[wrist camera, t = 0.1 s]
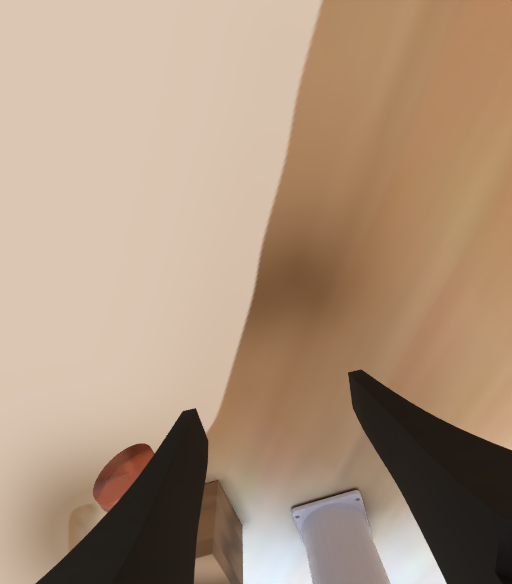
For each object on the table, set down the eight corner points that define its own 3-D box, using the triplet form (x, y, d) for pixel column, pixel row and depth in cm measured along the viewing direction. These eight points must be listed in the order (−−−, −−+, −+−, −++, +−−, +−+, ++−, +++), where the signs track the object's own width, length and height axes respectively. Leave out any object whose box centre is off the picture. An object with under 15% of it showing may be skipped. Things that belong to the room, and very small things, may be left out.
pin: (207, 519, 27) (201, 581, 23) (165, 531, 27) (151, 595, 23) (159, 437, 23) (139, 492, 19) (110, 452, 24) (80, 510, 19)
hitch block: (242, 526, 29) (243, 603, 23) (161, 549, 30) (142, 631, 24) (218, 480, 27) (212, 554, 21) (129, 506, 27) (100, 586, 21)
